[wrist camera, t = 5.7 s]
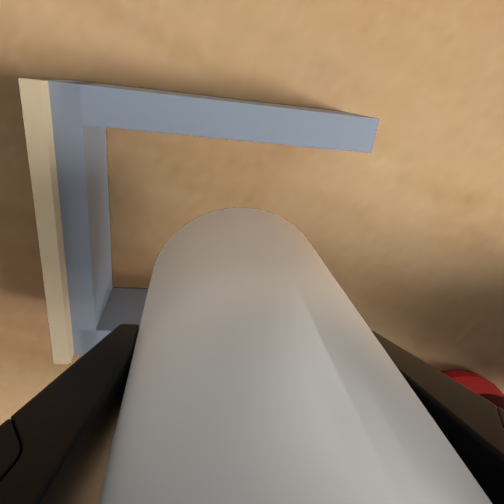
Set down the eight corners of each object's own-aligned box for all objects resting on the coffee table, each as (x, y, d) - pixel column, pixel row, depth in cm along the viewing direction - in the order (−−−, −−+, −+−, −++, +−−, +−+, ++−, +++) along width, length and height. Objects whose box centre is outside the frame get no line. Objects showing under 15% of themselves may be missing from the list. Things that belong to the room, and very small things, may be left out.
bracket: (343, 111, 16) (387, 120, 13) (304, 312, 21) (328, 363, 17) (63, 78, 14) (18, 77, 11) (82, 307, 19) (53, 364, 15)
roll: (334, 213, 11) (763, 623, 3) (304, 356, 13) (493, 837, 5) (150, 200, 10) (-60, 749, 2) (150, 356, 12) (49, 944, 4)
